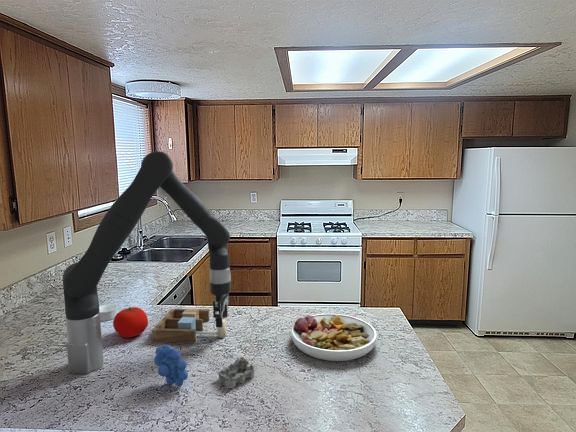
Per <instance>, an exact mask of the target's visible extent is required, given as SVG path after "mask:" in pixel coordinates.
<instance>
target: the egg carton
mask: <svg viewBox="0 0 576 432" xmlns="http://www.w3.org/2000/svg"><path fill="white" fill-rule="evenodd" d="M256 369H257V367H256V366H255V365H253V363H252V364H249V361H248V360H247V359H246V358H245V357H244V356H242V357H239V358H237V359H236V360H235V361H234V362H233V363H230V364H229V365H228V366H225V367H224V368H222V369H221V370H219V371H217V372H216V375H217V376H218V383H219V384H222V383H225V384H224V385H225V387H226V388H232V389H234V388H235V387H237V383H238V384H239V383H241V384H243V383H245V382H246V379H253V378H255V370H256ZM239 370H245V371H244V372H241V373H239ZM237 373H238V374H237Z"/></svg>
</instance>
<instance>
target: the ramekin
mask: <svg viewBox="0 0 576 432" xmlns="http://www.w3.org/2000/svg"><path fill="white" fill-rule="evenodd" d="M118 307H119V306H118V304H114V303H113V304H112V303H111V304H110V303H108V304H102V305H99V312H100V322H107V321H109V322H110V321H113V320H114V318H115V316H116V314H117V313H118Z"/></svg>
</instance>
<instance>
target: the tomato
mask: <svg viewBox="0 0 576 432" xmlns="http://www.w3.org/2000/svg"><path fill="white" fill-rule="evenodd" d="M148 318H149V317H148V315H147V313H146V312H145V311H144V309H141V308H140V307H137V306H132V307H131V306H129V307H126V308H124V309H121V310H119V312H117V314H116V316H115V318H114V319H112V321H113V322H112V326H113V329H114V331H115V332H116V334H117V335H119V336H120V337H122V338H127V339H129V338H133V337H136V336H139V335H141V334H143V332H145V331H146V329H147V327H148V326H149V319H148Z"/></svg>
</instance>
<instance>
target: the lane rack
mask: <svg viewBox="0 0 576 432" xmlns="http://www.w3.org/2000/svg"><path fill="white" fill-rule="evenodd" d="M185 309H186V308H171V309H170V310H169V311H168V312H166V314H165V315H164V317H162V318H161V320H160V321H158V323H157V324H156V325H155V326H154V327H153V328H152V329H151V338H152V339H151V341H152V343H177V344H179V343H181V344H183V343H184V344H185V343H186V344H195V343H196V342H197V334H196V331H197V332H204V322H209V321H210V309H207V308H202V309H201V308H198V309H199V319H195V320H196V329H178V322H179V321H180V319H181V318H182V313H183V312H184V311H185Z"/></svg>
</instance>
